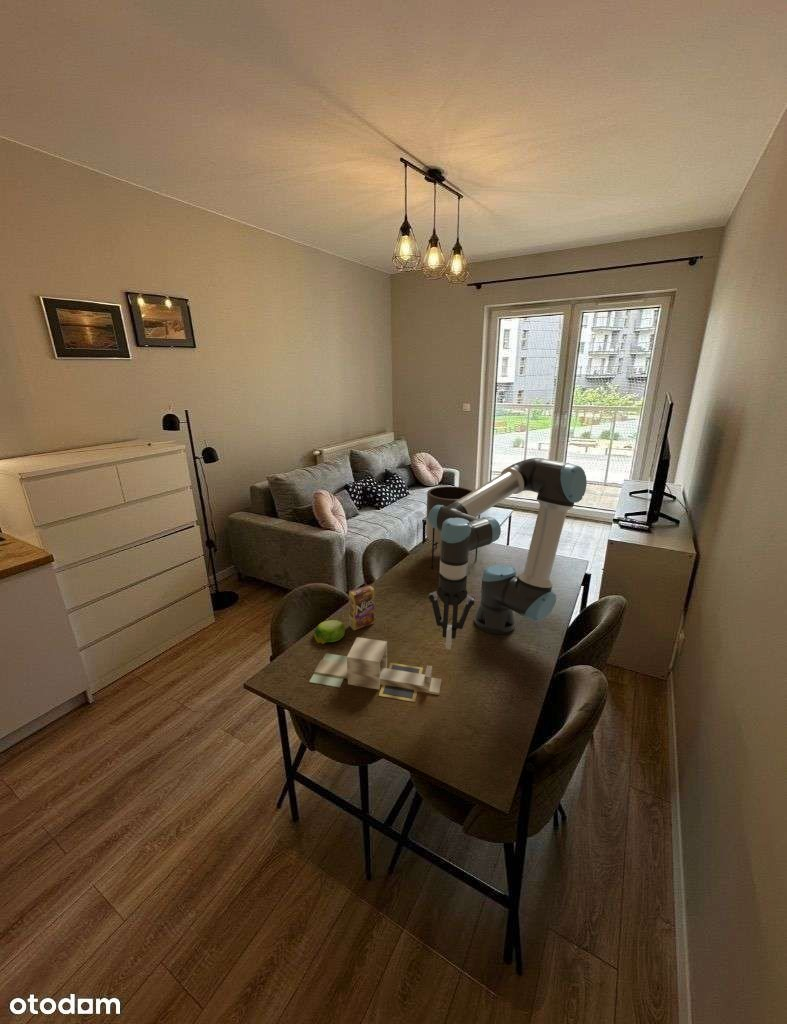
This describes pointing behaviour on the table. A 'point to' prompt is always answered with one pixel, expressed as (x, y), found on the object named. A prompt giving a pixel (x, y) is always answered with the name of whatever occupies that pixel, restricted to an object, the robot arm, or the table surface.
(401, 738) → the table surface
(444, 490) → the planter
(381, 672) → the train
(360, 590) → the candy box
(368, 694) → the table surface
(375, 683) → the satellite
